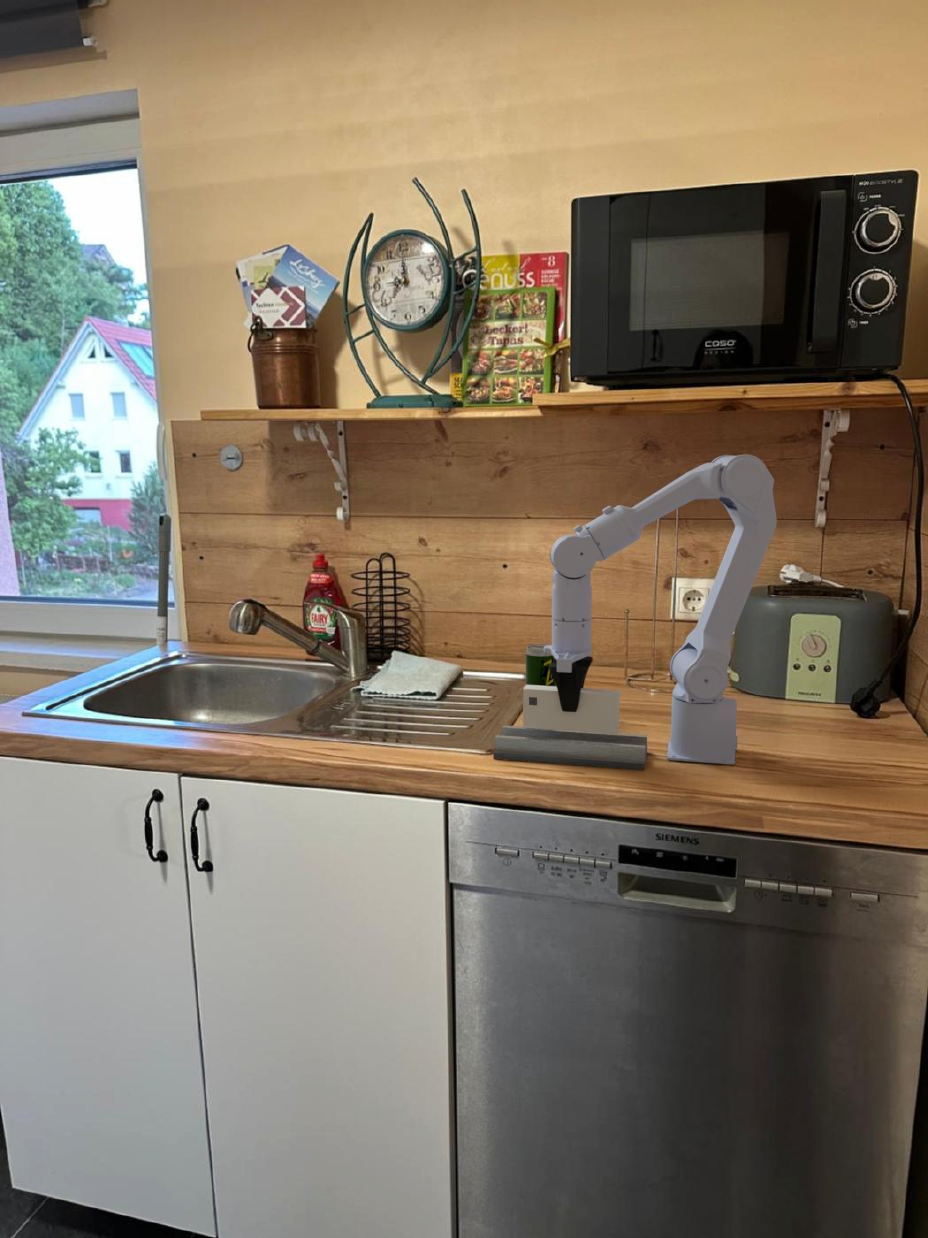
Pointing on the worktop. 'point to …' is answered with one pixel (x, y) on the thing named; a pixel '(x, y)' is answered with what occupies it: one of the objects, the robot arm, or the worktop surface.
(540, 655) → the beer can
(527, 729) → the track
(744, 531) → the robot arm
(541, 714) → the door panel
